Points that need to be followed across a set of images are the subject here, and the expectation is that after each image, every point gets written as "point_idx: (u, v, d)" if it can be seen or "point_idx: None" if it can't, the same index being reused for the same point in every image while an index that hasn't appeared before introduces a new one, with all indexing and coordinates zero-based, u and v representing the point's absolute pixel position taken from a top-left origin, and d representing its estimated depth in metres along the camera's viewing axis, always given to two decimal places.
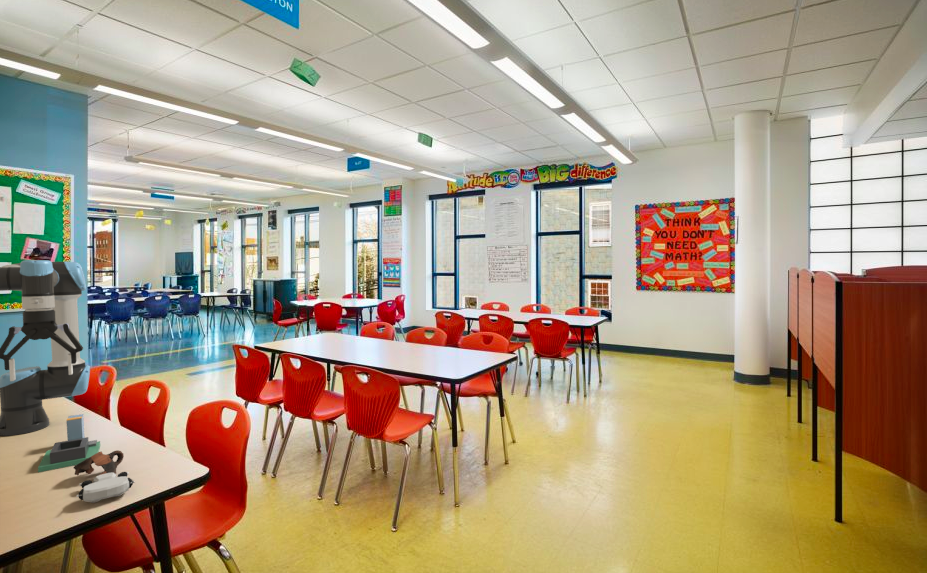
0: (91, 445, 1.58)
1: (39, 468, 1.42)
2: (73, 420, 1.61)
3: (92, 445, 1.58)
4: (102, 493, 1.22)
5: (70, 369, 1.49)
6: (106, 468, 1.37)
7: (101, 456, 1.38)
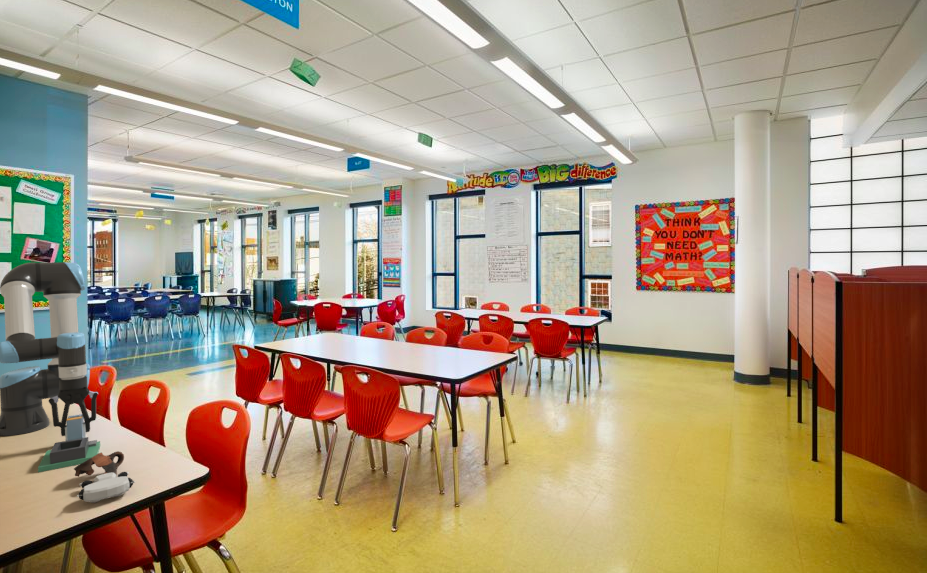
0: (91, 445, 1.58)
1: (39, 468, 1.42)
2: (73, 420, 1.61)
3: (92, 445, 1.58)
4: (102, 493, 1.22)
5: (84, 437, 1.64)
6: (107, 469, 1.36)
7: (102, 457, 1.37)
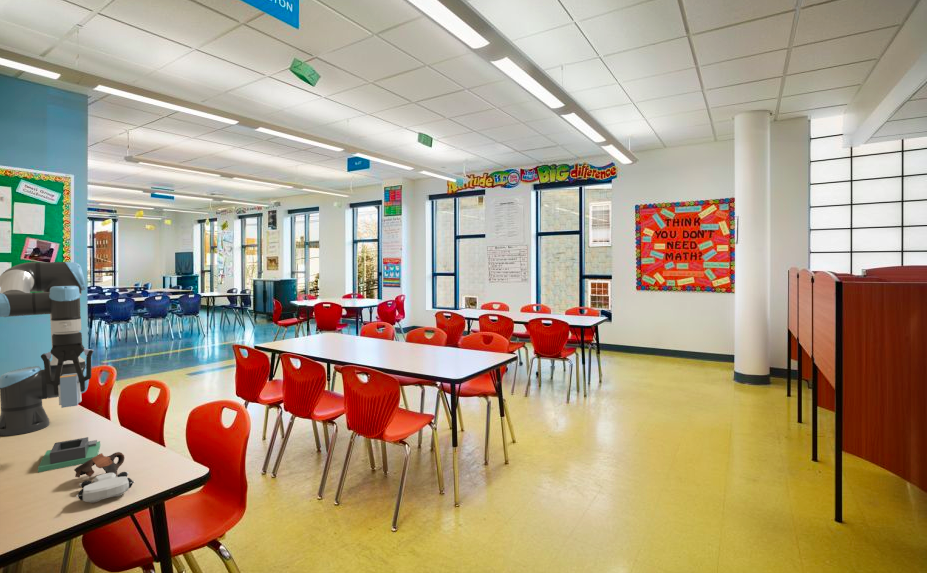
0: (91, 445, 1.58)
1: (39, 468, 1.42)
2: (67, 377, 1.51)
3: (92, 445, 1.58)
4: (102, 493, 1.22)
5: (79, 397, 1.55)
6: (108, 470, 1.35)
7: (102, 458, 1.37)
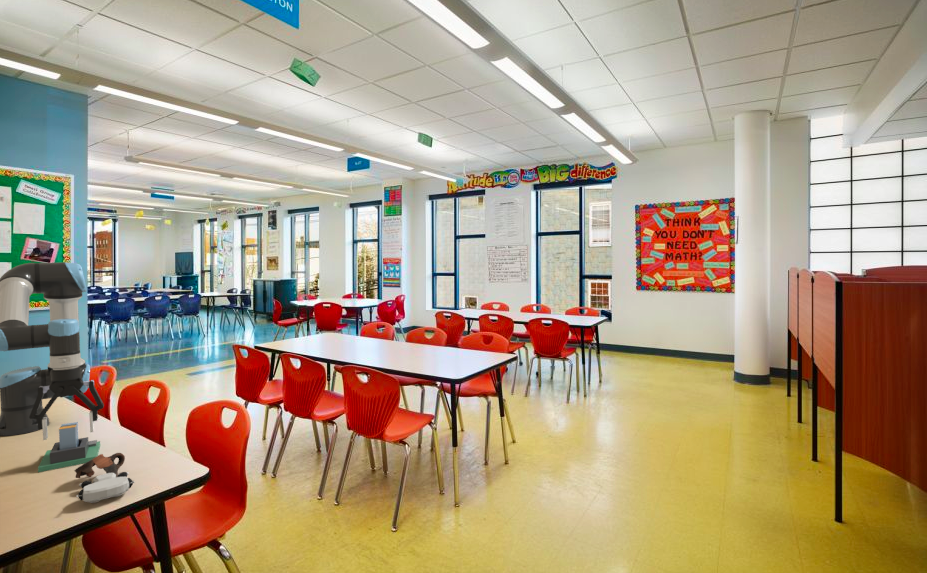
0: (91, 445, 1.58)
1: (39, 468, 1.42)
2: (66, 429, 1.48)
3: (92, 445, 1.58)
4: (102, 493, 1.22)
5: (92, 427, 1.52)
6: (108, 471, 1.35)
7: (103, 459, 1.36)
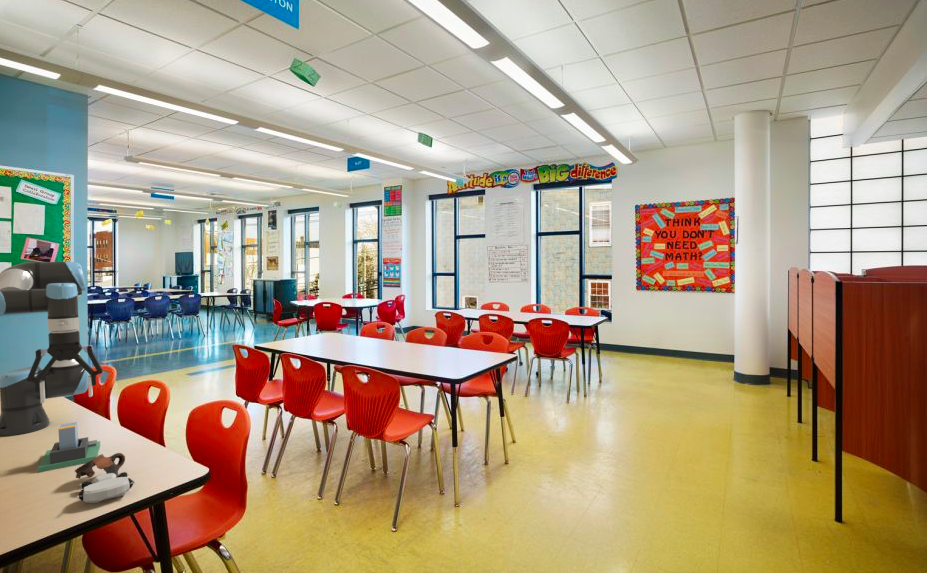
0: (91, 445, 1.58)
1: (39, 468, 1.42)
2: (66, 429, 1.47)
3: (92, 445, 1.58)
4: (102, 494, 1.21)
5: (90, 391, 1.52)
6: (108, 471, 1.35)
7: (103, 459, 1.36)
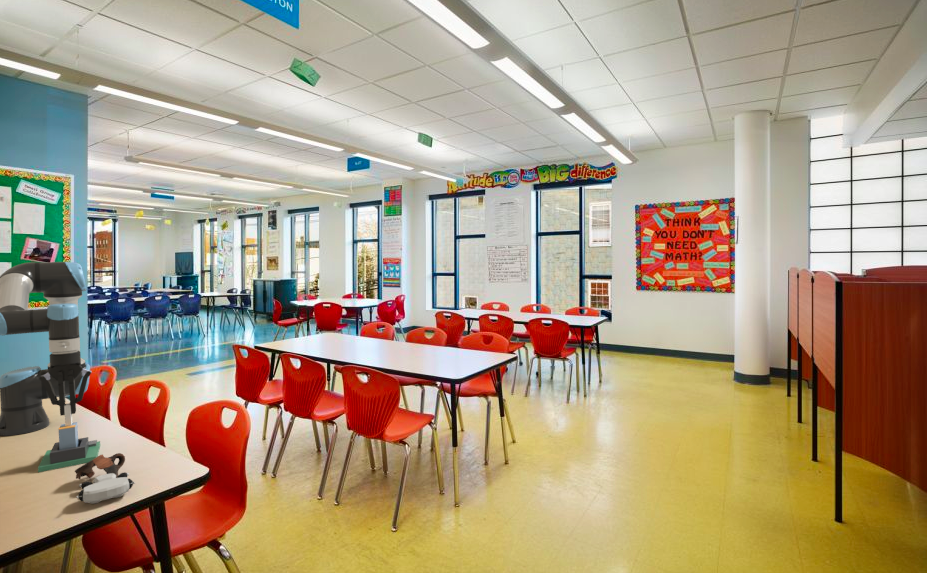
0: (91, 445, 1.58)
1: (39, 468, 1.42)
2: (66, 429, 1.47)
3: (92, 445, 1.58)
4: (102, 494, 1.21)
5: (69, 420, 1.49)
6: (109, 471, 1.35)
7: (103, 459, 1.36)
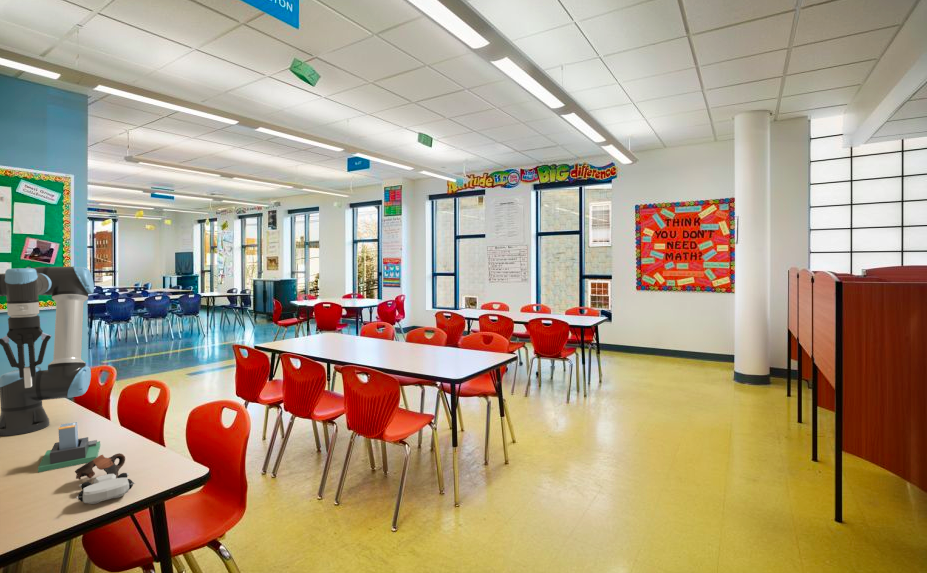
0: (91, 445, 1.58)
1: (39, 468, 1.42)
2: (66, 429, 1.47)
3: (92, 445, 1.58)
4: (102, 494, 1.21)
5: (29, 382, 1.52)
6: (109, 471, 1.34)
7: (103, 459, 1.36)
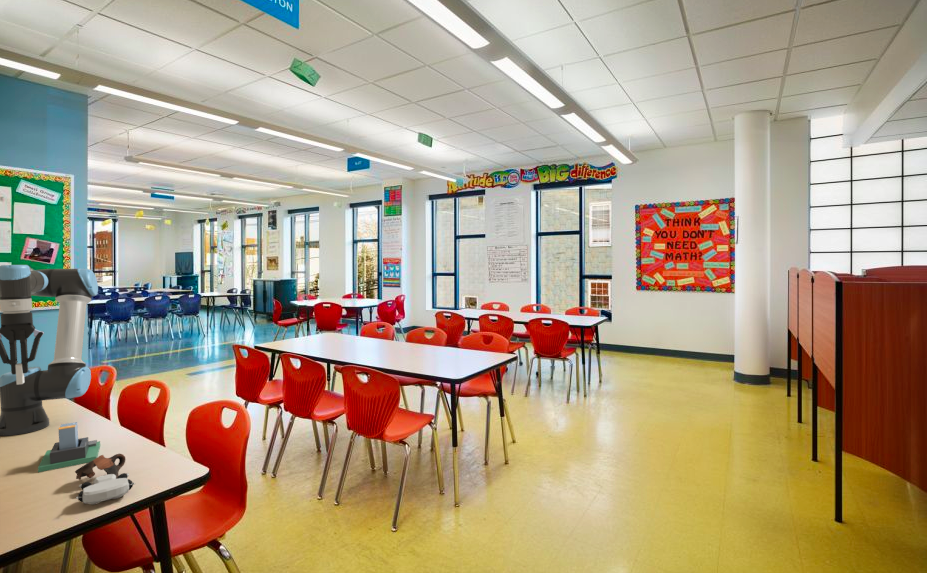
0: (91, 445, 1.58)
1: (39, 468, 1.42)
2: (66, 429, 1.47)
3: (92, 445, 1.58)
4: (102, 495, 1.21)
5: (21, 379, 1.52)
6: (109, 472, 1.34)
7: (103, 460, 1.35)
